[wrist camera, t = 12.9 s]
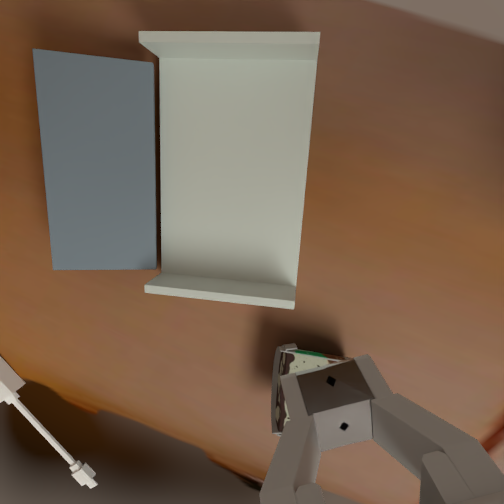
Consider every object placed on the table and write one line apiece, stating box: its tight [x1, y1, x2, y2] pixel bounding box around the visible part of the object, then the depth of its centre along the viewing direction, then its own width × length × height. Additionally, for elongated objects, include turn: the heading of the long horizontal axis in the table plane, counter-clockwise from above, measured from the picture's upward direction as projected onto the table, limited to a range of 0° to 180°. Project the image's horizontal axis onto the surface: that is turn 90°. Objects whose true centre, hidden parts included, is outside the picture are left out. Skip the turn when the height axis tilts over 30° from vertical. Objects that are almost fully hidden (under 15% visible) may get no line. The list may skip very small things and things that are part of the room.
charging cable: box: [0, 356, 98, 488], centre depth 56 cm, size 5×32×3 cm, turn 36°
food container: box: [271, 343, 350, 436], centre depth 45 cm, size 12×6×10 cm
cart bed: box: [139, 31, 320, 309], centre depth 39 cm, size 18×28×7 cm, turn 177°
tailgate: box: [33, 49, 157, 270], centre depth 40 cm, size 2×24×12 cm
